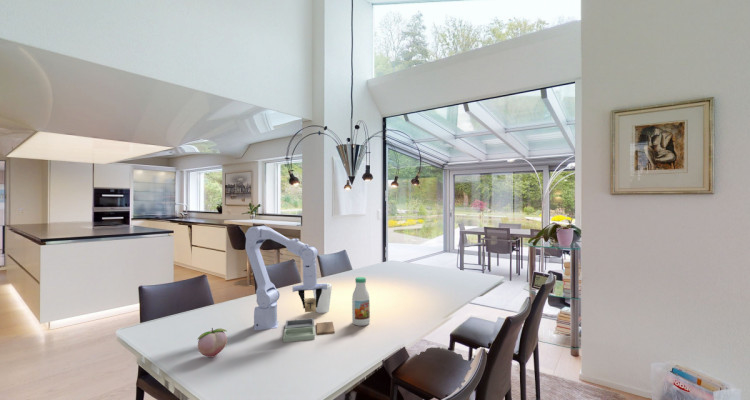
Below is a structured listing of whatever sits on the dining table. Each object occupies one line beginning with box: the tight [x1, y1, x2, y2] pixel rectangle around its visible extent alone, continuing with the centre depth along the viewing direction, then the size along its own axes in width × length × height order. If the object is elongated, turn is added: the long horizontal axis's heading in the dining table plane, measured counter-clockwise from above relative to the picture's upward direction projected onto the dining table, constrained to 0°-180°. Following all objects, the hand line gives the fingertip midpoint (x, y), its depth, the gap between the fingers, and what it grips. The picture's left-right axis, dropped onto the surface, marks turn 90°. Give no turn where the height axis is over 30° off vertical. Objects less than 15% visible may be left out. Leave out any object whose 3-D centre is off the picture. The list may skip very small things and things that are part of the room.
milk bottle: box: [351, 276, 371, 327], centre depth 141 cm, size 8×8×20 cm
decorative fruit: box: [197, 327, 228, 358], centre depth 111 cm, size 9×8×10 cm
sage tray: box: [282, 326, 316, 343], centre depth 127 cm, size 12×9×2 cm
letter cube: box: [304, 297, 316, 313], centre depth 136 cm, size 4×5×4 cm
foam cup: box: [312, 282, 333, 314], centre depth 157 cm, size 10×9×13 cm
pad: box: [316, 321, 336, 336], centre depth 134 cm, size 7×11×1 cm, turn 12°
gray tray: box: [284, 317, 315, 330], centre depth 137 cm, size 12×9×2 cm
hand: (310, 307), depth 136 cm, fingers closed on letter cube, 4 cm apart
